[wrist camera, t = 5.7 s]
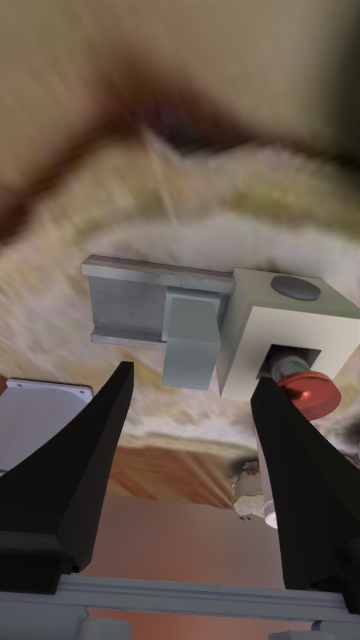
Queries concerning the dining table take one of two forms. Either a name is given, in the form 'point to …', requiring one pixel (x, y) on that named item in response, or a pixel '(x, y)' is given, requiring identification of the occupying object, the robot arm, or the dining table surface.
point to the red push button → (302, 382)
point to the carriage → (190, 337)
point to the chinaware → (254, 489)
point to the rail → (143, 297)
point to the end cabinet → (282, 328)
